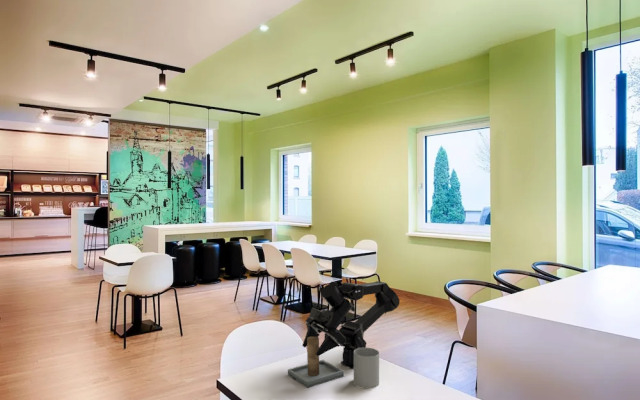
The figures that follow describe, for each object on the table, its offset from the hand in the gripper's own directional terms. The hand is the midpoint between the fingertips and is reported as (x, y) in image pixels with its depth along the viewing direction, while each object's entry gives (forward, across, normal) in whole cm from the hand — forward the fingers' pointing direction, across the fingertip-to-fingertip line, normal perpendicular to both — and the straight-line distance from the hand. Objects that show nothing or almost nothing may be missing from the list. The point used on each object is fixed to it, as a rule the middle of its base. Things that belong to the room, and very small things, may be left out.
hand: (309, 350), depth 136 cm
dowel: (+5, 0, +7) cm, 8 cm away
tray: (+5, 0, +8) cm, 9 cm away
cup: (-4, +13, +16) cm, 21 cm away
